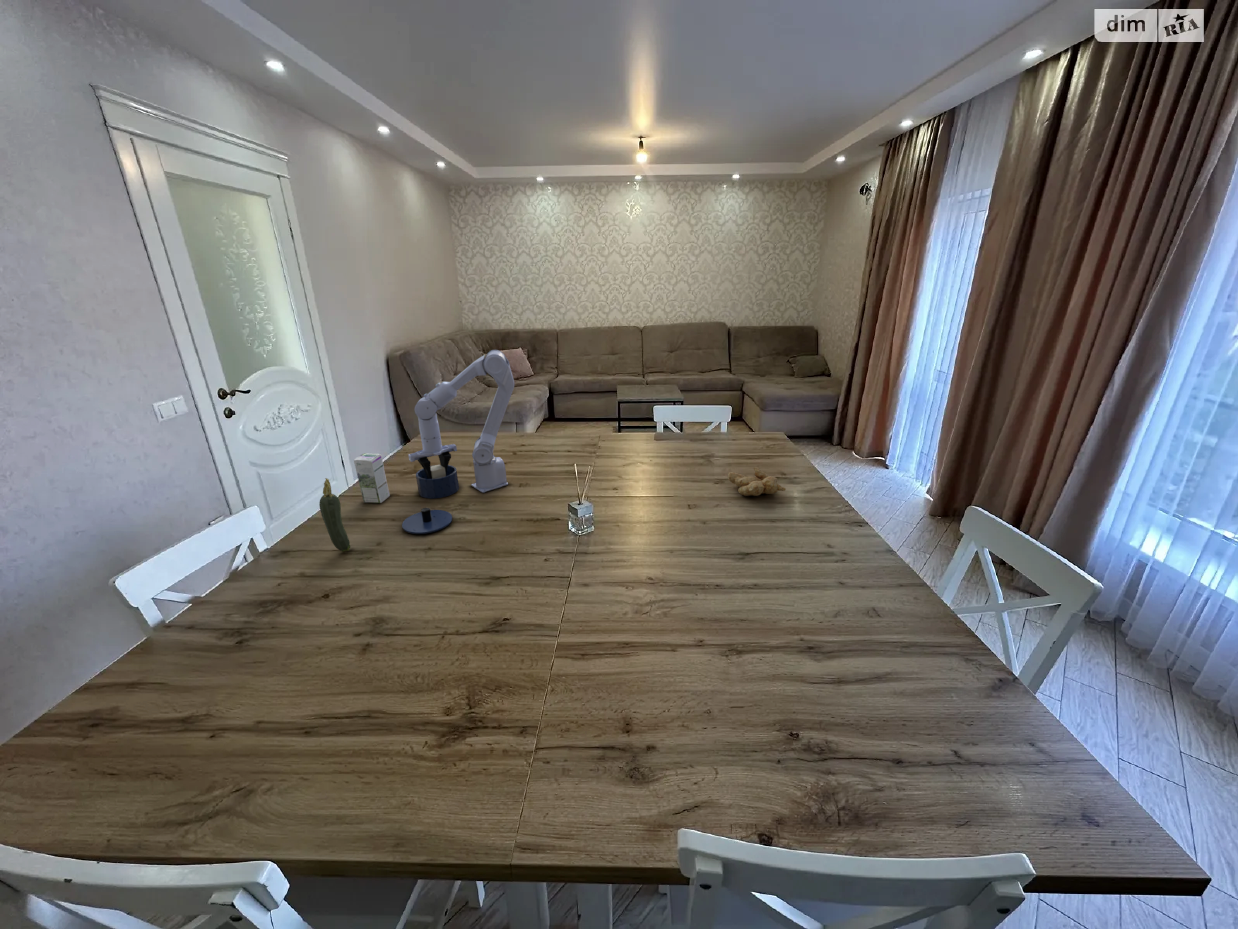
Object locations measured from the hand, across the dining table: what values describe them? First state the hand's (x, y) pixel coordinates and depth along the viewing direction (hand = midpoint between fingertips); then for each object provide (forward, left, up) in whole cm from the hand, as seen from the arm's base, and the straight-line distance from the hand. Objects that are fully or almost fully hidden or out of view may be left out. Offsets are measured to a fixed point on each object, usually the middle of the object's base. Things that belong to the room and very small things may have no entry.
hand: (437, 476), depth 154 cm
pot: (0, 0, -5) cm, 5 cm away
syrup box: (+17, -7, -5) cm, 19 cm away
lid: (+12, +20, -4) cm, 23 cm away
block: (0, 0, -1) cm, 1 cm away
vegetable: (+34, +19, -5) cm, 39 cm away
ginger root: (-72, +72, -5) cm, 102 cm away
